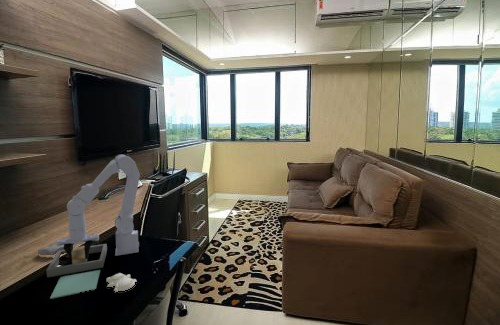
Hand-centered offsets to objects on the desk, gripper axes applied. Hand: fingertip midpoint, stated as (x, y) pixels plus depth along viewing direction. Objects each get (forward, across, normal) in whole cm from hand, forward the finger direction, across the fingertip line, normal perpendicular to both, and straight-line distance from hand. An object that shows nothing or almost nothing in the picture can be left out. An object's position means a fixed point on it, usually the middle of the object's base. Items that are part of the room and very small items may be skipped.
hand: (79, 259), depth 108 cm
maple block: (+1, 0, 0) cm, 1 cm away
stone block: (+2, -12, +15) cm, 19 cm away
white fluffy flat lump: (+2, +16, -23) cm, 28 cm away
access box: (+1, 0, 0) cm, 1 cm away
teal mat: (+1, +2, -17) cm, 17 cm away
